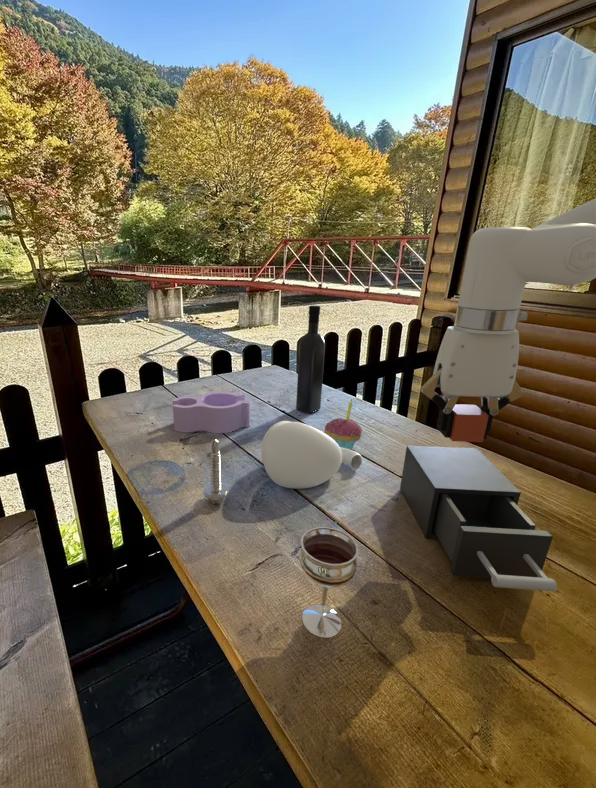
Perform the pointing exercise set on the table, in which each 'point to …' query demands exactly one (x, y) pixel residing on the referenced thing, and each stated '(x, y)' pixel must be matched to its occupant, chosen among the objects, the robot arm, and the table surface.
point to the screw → (215, 477)
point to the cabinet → (448, 479)
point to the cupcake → (344, 430)
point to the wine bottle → (310, 365)
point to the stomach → (303, 455)
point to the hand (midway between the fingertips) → (461, 433)
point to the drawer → (492, 541)
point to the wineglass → (326, 573)
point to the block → (468, 423)
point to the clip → (211, 412)
